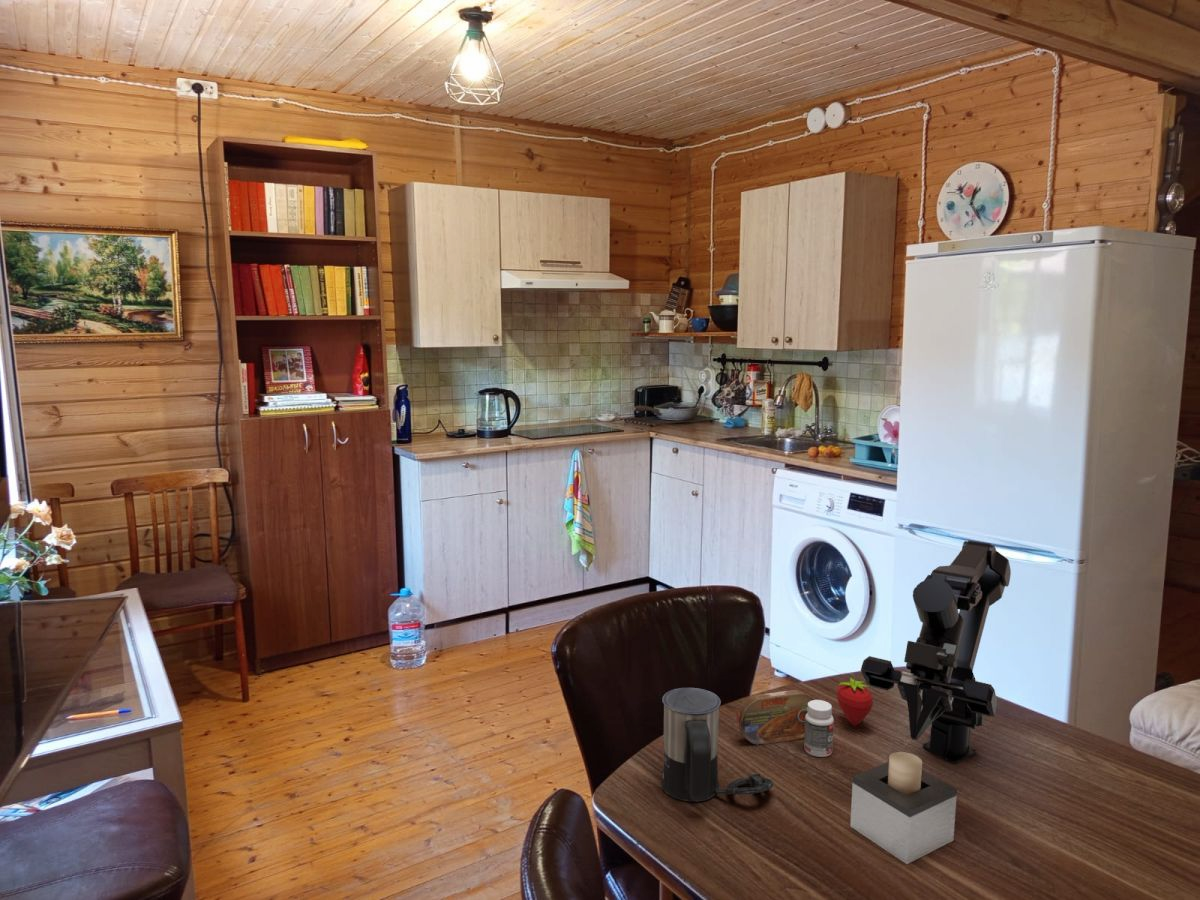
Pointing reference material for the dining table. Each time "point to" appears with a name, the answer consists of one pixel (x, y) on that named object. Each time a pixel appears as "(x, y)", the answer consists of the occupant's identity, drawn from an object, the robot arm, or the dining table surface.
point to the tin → (774, 717)
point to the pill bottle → (819, 729)
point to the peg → (905, 772)
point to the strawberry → (854, 700)
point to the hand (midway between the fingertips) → (913, 738)
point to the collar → (903, 813)
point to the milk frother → (696, 748)
